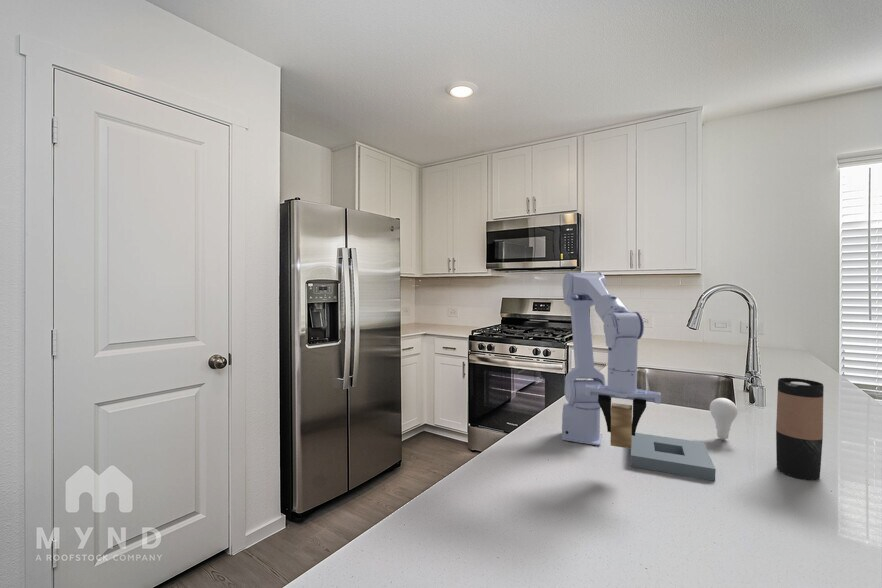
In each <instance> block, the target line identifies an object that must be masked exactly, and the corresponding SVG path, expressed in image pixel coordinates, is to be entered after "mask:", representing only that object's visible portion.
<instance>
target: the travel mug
mask: <svg viewBox="0 0 882 588" xmlns="http://www.w3.org/2000/svg"><path fill="white" fill-rule="evenodd" d="M824 392H825V391H824V384H823V383H821V382H819V381H815V380H810V379H805V378H796V377H794V378H793V377H781V378H778V380H777V399H776V403H777V404H776V421H775V422H776V425H775V427H776V428H775V429H776V430H775V431H776V432H775V441H776V443H775V445H776V447H775V449H776V450H775V451H776V458H775V459H776V469H777V471H778V472H780V473H781V474H783V475H785V476H788V477H790V478H794V479H798V480H802V481H819V479H820V477H821V470H822V469H821V468H822V451H823V450H822V449H823V437H824V436H823V435H824Z"/></svg>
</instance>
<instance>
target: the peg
mask: <svg viewBox="0 0 882 588" xmlns="http://www.w3.org/2000/svg"><path fill="white" fill-rule="evenodd" d="M632 418H633V404H626V403H624V404H623V403H617V402H616V403H615V402H611V432H610V444H609V445H610V446H613V447H616V448H617V447H619V448H624V449H630V450H631V442H632Z"/></svg>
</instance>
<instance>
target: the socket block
mask: <svg viewBox="0 0 882 588" xmlns="http://www.w3.org/2000/svg"><path fill="white" fill-rule="evenodd" d="M630 467H633V468H637V469H638V468H640V469H644V470H650V471H656V472H661V473H667V474H674V475H679V476H686V477H692V478H696V479H702V480H709V481H714V482H716V472H717V471H716V467H715V464H714V463H713V460H712V458H711V455H710V454H709V451H708V449H707V447H706V445H705V443H704V441H697V440H690V439H683V438H675V437H667V436H662V435H655V434H654V435H653V434H648V433H639V432H635V436H632V442H631V449H630Z"/></svg>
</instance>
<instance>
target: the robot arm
mask: <svg viewBox="0 0 882 588" xmlns="http://www.w3.org/2000/svg"><path fill="white" fill-rule="evenodd" d="M606 281H607V280H606V277H605V275H604V273H602V272H600V271H598V272H571V271H567V272H566V273H565V274H564V276H563V280H562V294H563V295H562V297H563V301H564V304H565V305H566V306H567V307H569V310H570V316H571V317H570V318H571V320H570V321H571V332H572V344H573V358H574V368H572V369H571V370H570V371H568V373H566V375H565V377H564V398H565V400H566V402H564V403H563V406H562V418H561V420H562V421H561V440H562V441H569V442H573V443H574V442H575V443H579V444H580V443H581V444H587V445H592V446H601V444H602V438H603V434H602V433H601V411H602V414H603V417H604V419H605V423H606V428H607V433H611V405H612V398H613V399H621V400H631V401H632V436H635V433H637V432H636V431H637V427H638V424H639V422H640V419H641V417H642V415H643V413H644V412H645V410H646V408H647V403H648V402H649V403H654V404H658V405H659V404H662V403H661V402H662V394H661V392H660V391H659V392H658V391H652V390H645V389H641V388H640V389H639V388H638V350H639V349H638V345H639V340H640V339H641V338H642V337H643V335H644V329H645V326H644V320H643V317H642V315H641V313H640V312H639V311H630V310H628V308H627V307H626V306H625V305H624V303H623V302H622V301H621V299H619V298H618V296H617V295H616V294H614V293H611V294H610V293H609V292H608V290H607V287H606V286H607V285H606V284H607V282H606ZM593 306H594V310H595V313H596V314H597V315H598V316H599V318H600V320H601V321H602V323H603V333H604V336H605V345H606V347H607V383H606V378H605V374H604V373H602V372H601V371H599V370H598V369H597V368H596V367H595V361H594V352H593V351H594V350H593V349H594V348H593V339H592V337H593V335H592V327H591V313H590V309H591V307H593Z"/></svg>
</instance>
